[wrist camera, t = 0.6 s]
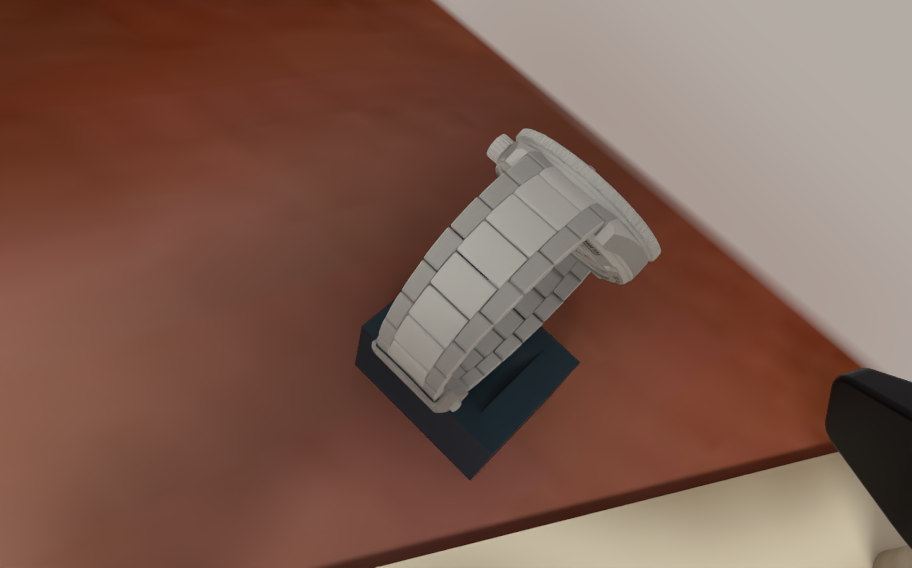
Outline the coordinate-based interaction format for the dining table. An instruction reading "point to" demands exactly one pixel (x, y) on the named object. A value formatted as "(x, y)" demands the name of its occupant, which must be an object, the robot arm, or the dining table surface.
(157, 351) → the dining table surface
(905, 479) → the robot arm
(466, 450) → the watch
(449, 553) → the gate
